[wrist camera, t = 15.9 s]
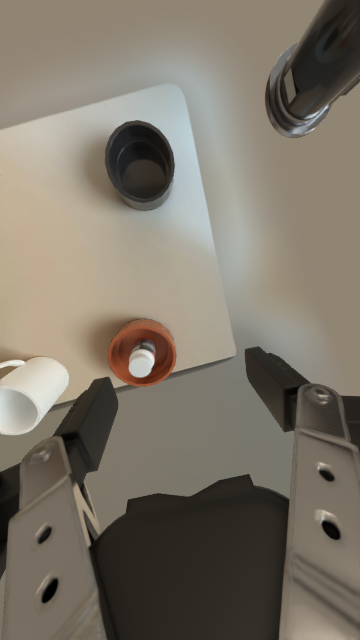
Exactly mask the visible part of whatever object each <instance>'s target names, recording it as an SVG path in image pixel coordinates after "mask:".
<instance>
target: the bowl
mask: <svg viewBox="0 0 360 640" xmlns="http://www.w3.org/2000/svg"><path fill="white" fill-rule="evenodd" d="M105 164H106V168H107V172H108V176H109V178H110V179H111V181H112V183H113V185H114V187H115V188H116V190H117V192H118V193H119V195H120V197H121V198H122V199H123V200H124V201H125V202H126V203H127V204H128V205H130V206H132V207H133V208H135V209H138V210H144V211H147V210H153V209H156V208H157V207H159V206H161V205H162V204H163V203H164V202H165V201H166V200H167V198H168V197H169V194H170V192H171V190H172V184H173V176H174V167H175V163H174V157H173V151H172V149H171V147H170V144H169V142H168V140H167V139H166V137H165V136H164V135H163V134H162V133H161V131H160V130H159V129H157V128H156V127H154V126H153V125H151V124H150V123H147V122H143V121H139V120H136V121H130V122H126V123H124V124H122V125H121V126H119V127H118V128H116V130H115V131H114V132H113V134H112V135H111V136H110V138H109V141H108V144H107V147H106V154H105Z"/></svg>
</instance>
